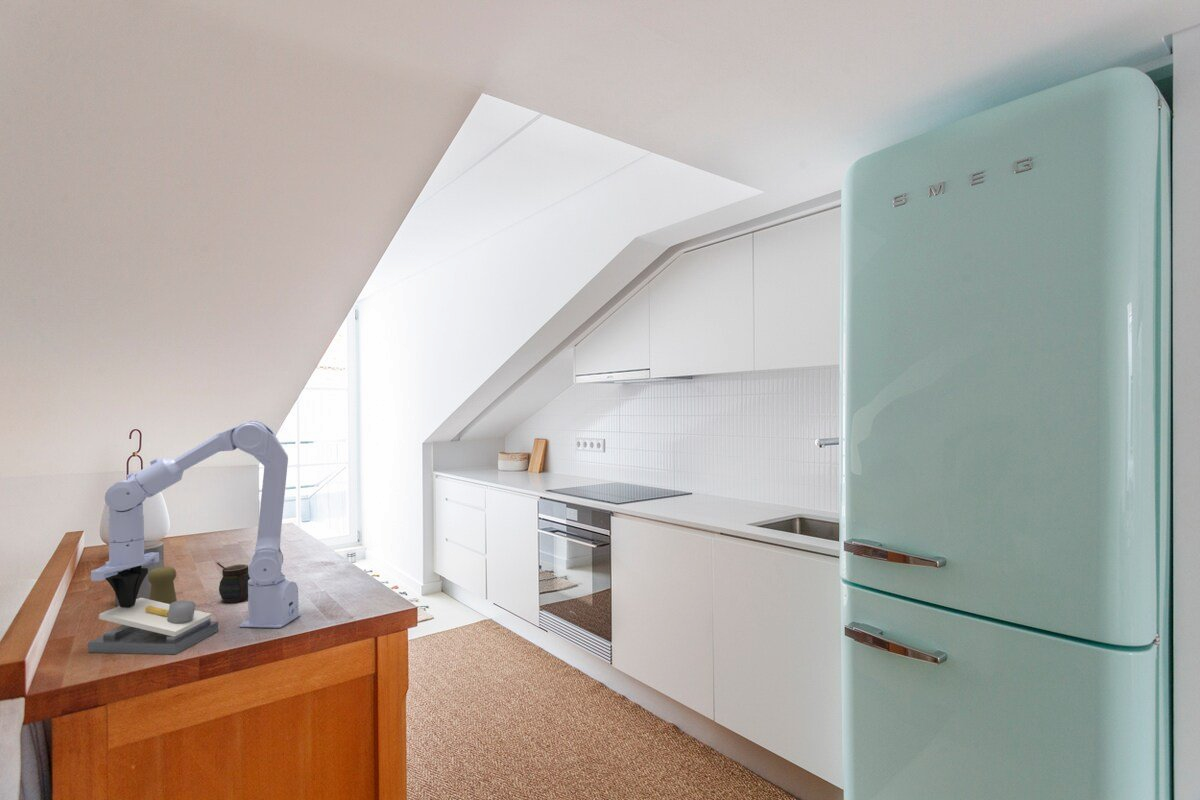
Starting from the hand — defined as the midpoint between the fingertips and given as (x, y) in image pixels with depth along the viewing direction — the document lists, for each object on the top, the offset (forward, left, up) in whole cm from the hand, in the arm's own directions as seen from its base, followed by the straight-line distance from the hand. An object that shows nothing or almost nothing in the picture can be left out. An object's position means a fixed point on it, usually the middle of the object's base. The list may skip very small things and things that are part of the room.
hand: (127, 606), depth 128 cm
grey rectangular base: (-6, 0, -7) cm, 9 cm away
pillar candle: (+18, -24, -7) cm, 31 cm away
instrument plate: (-6, 0, -2) cm, 7 cm away
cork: (+4, -14, -7) cm, 16 cm away
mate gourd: (-5, -26, -7) cm, 27 cm away
